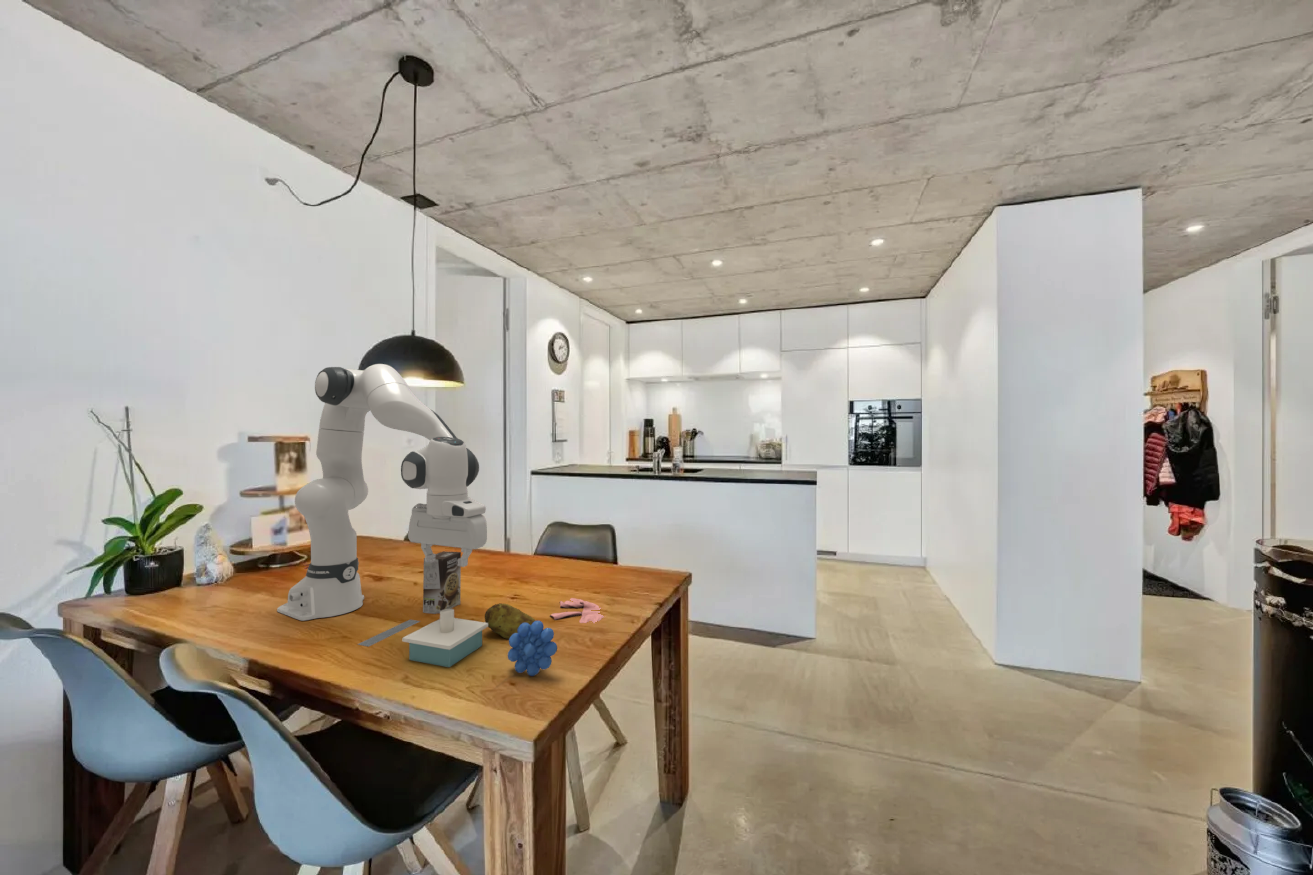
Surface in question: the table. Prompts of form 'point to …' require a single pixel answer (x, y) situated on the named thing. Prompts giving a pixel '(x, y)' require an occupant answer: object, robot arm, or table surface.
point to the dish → (444, 652)
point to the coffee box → (441, 582)
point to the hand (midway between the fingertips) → (446, 563)
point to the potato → (506, 619)
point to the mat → (388, 633)
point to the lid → (445, 631)
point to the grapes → (532, 648)
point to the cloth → (586, 614)
